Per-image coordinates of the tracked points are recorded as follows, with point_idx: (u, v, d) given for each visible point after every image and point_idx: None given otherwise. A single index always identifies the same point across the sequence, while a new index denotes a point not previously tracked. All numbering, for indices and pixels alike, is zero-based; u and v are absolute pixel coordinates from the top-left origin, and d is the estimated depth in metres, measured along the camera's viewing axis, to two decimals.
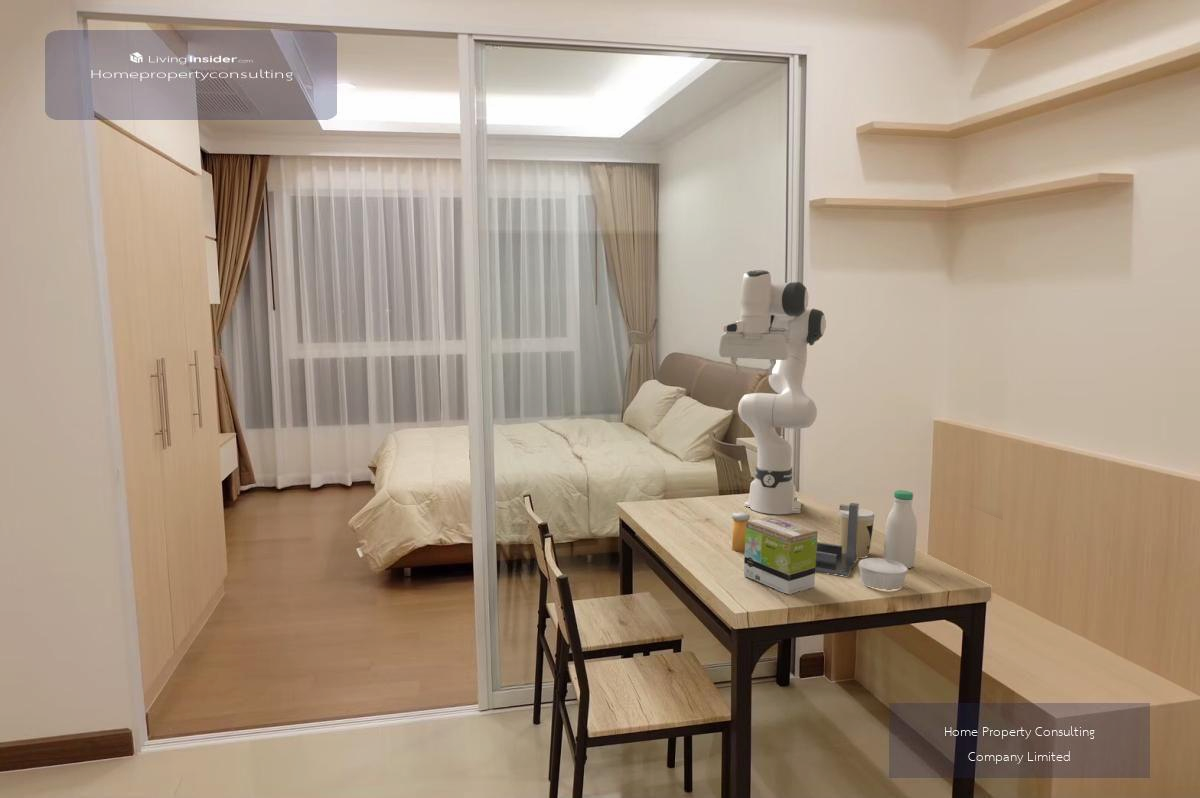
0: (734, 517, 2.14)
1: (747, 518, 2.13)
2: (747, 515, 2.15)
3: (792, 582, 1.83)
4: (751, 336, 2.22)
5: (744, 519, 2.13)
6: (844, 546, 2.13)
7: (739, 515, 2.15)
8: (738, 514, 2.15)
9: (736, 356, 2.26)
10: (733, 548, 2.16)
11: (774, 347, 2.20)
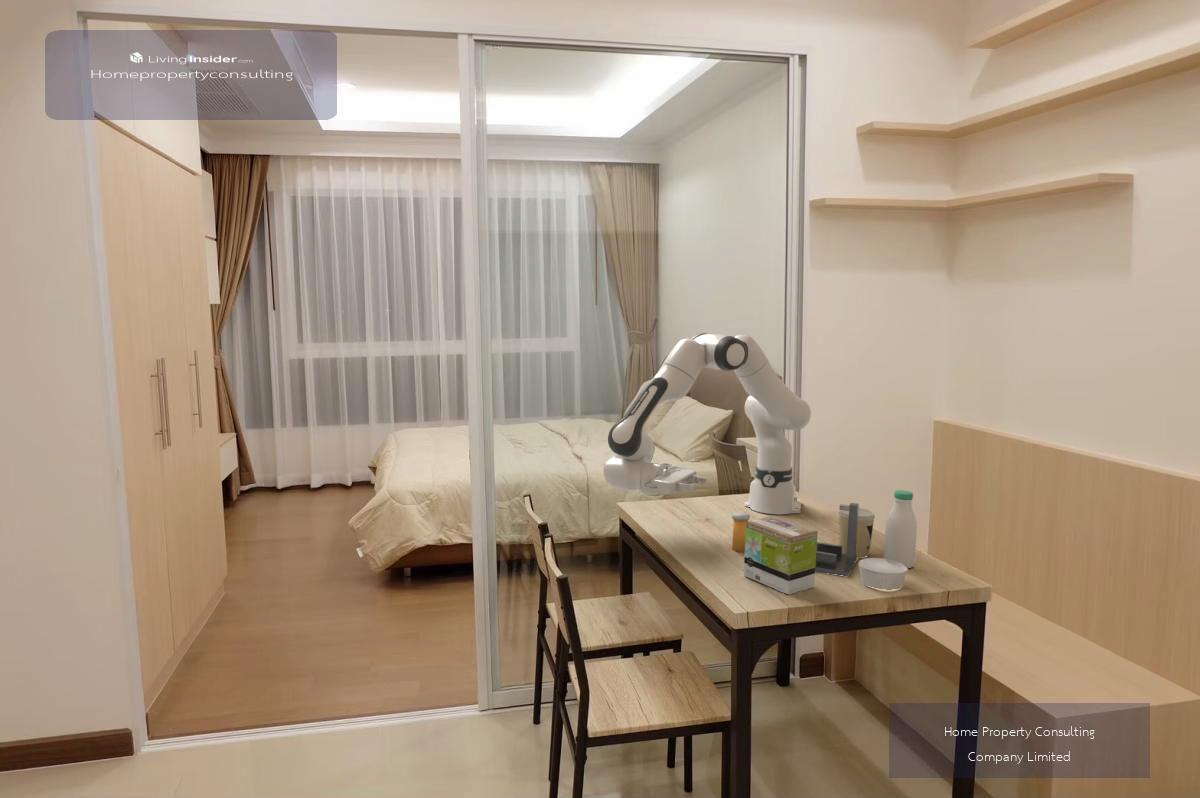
0: (734, 517, 2.14)
1: (747, 518, 2.13)
2: (747, 515, 2.15)
3: (792, 582, 1.83)
4: None
5: (744, 519, 2.13)
6: (844, 546, 2.13)
7: (739, 515, 2.15)
8: (738, 514, 2.15)
9: None
10: (733, 548, 2.16)
11: None
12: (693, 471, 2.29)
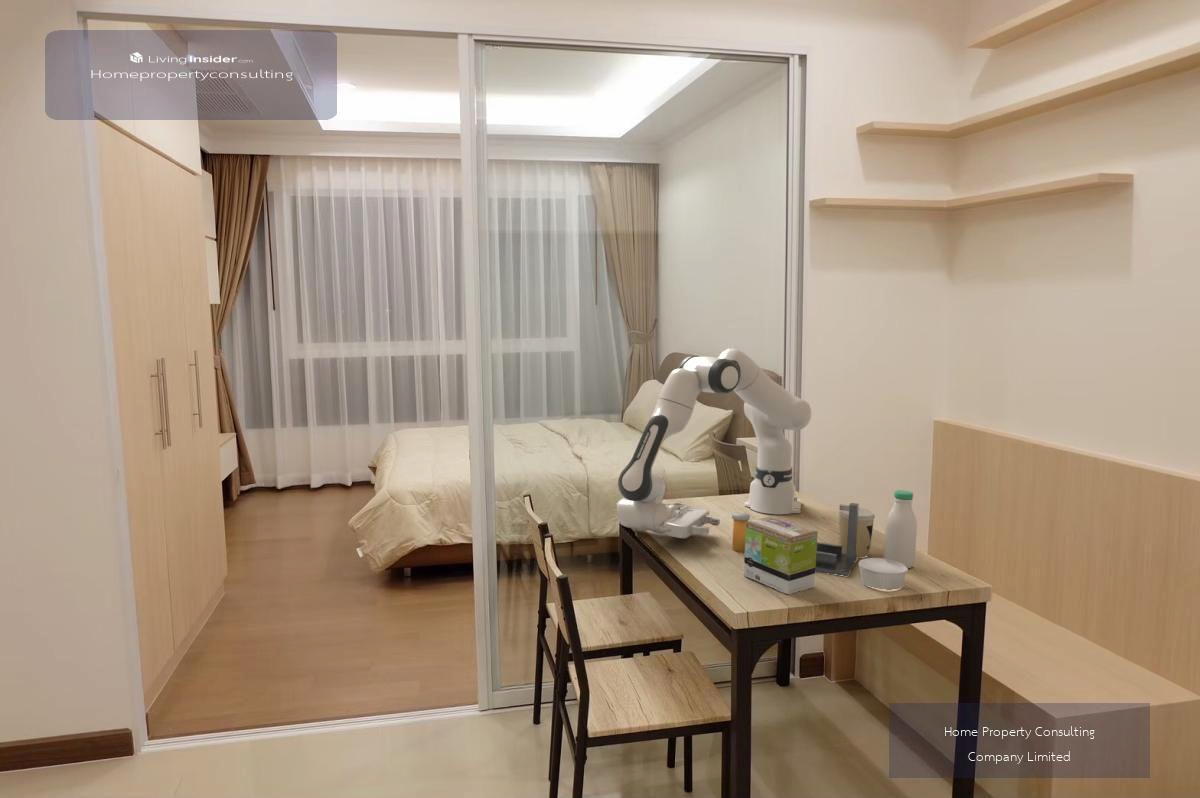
0: (734, 517, 2.14)
1: (747, 518, 2.13)
2: (747, 515, 2.15)
3: (792, 582, 1.83)
4: None
5: (744, 519, 2.13)
6: (844, 546, 2.13)
7: (739, 515, 2.15)
8: (738, 514, 2.15)
9: None
10: (733, 548, 2.16)
11: None
12: (706, 511, 2.28)
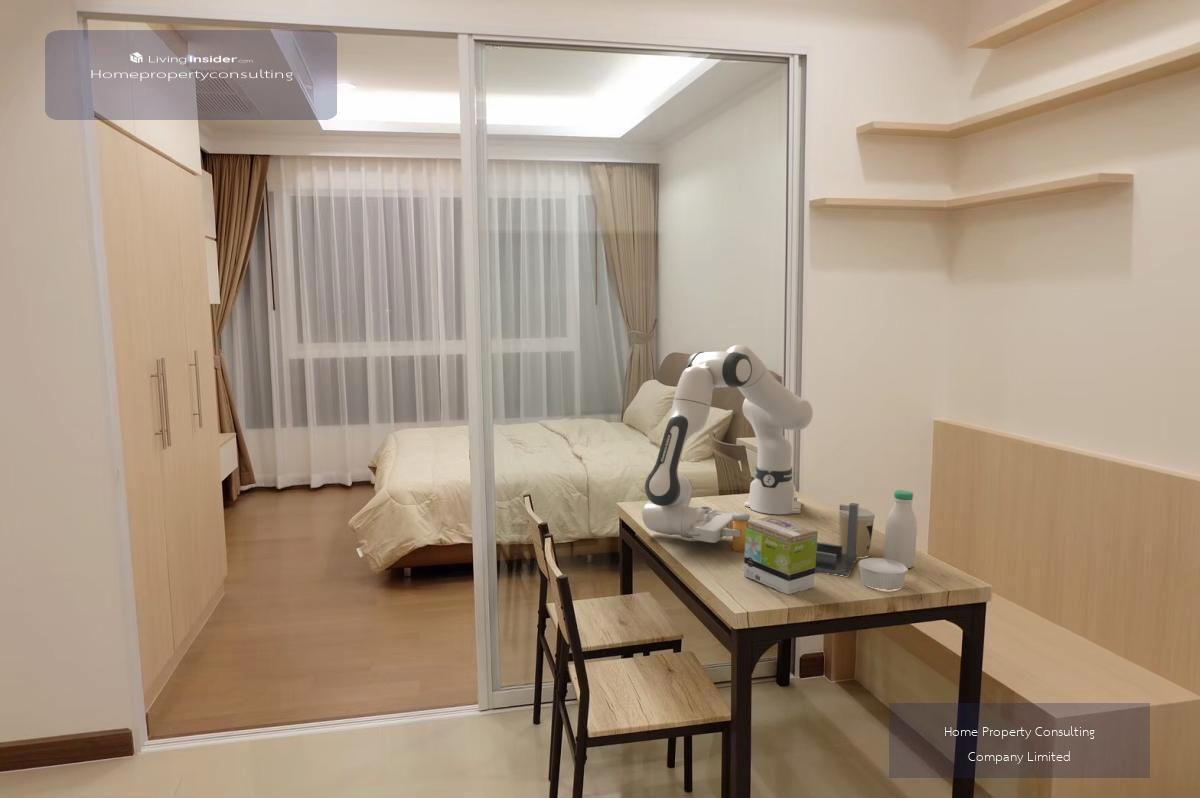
0: (734, 517, 2.14)
1: (747, 518, 2.13)
2: (747, 515, 2.15)
3: (792, 582, 1.83)
4: None
5: (744, 519, 2.13)
6: (844, 546, 2.13)
7: (739, 515, 2.14)
8: (738, 514, 2.15)
9: None
10: (733, 548, 2.16)
11: None
12: None
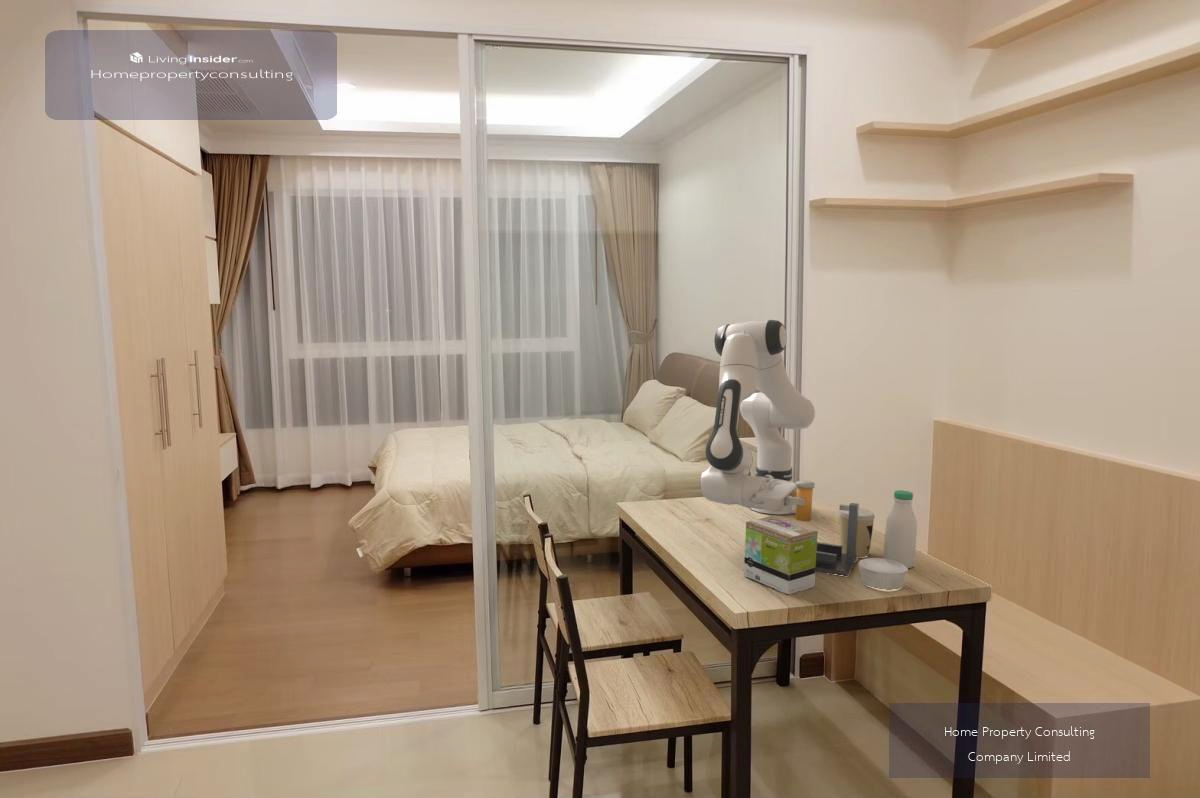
0: (798, 485, 2.04)
1: (812, 486, 2.04)
2: (812, 483, 2.05)
3: (792, 582, 1.83)
4: None
5: (809, 487, 2.03)
6: (844, 546, 2.13)
7: (804, 483, 2.05)
8: (802, 482, 2.06)
9: None
10: (797, 518, 2.06)
11: None
12: None
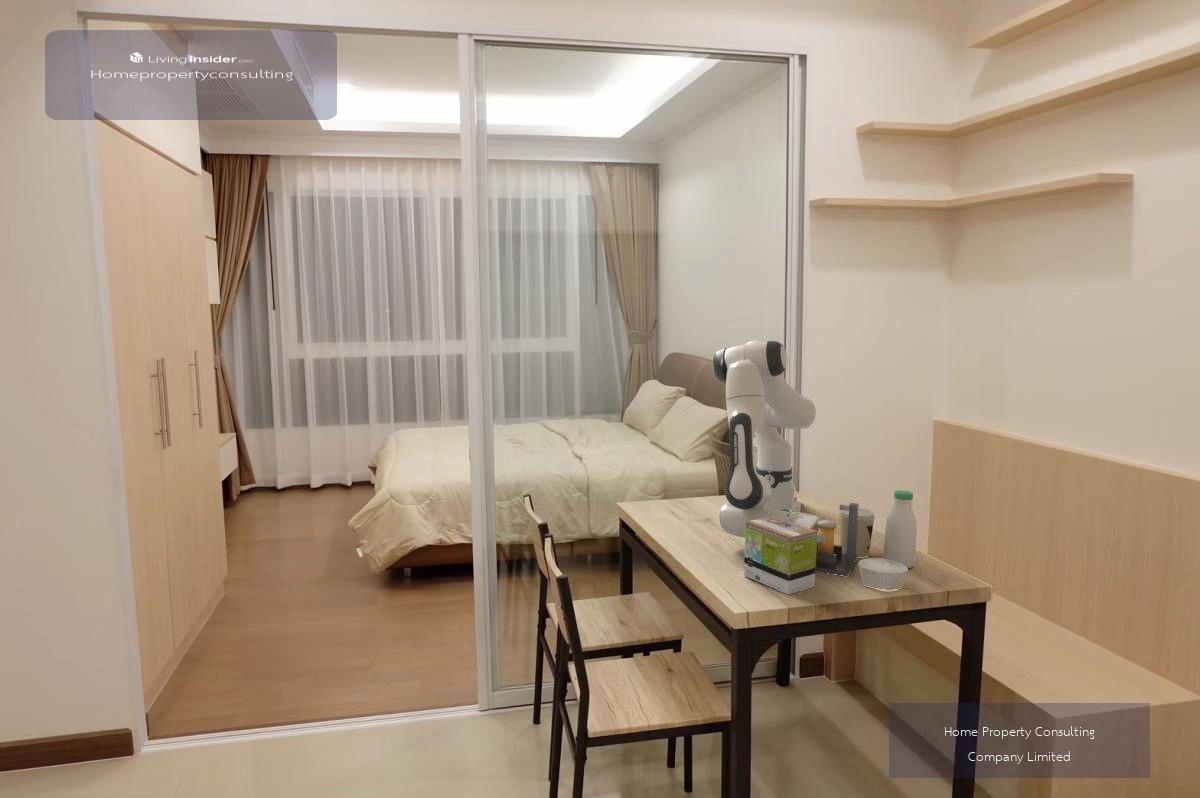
0: (820, 525, 2.03)
1: (834, 526, 2.03)
2: (834, 523, 2.04)
3: (792, 582, 1.83)
4: None
5: (831, 527, 2.02)
6: (844, 546, 2.13)
7: (826, 523, 2.04)
8: (824, 522, 2.05)
9: None
10: None
11: None
12: (817, 518, 2.13)
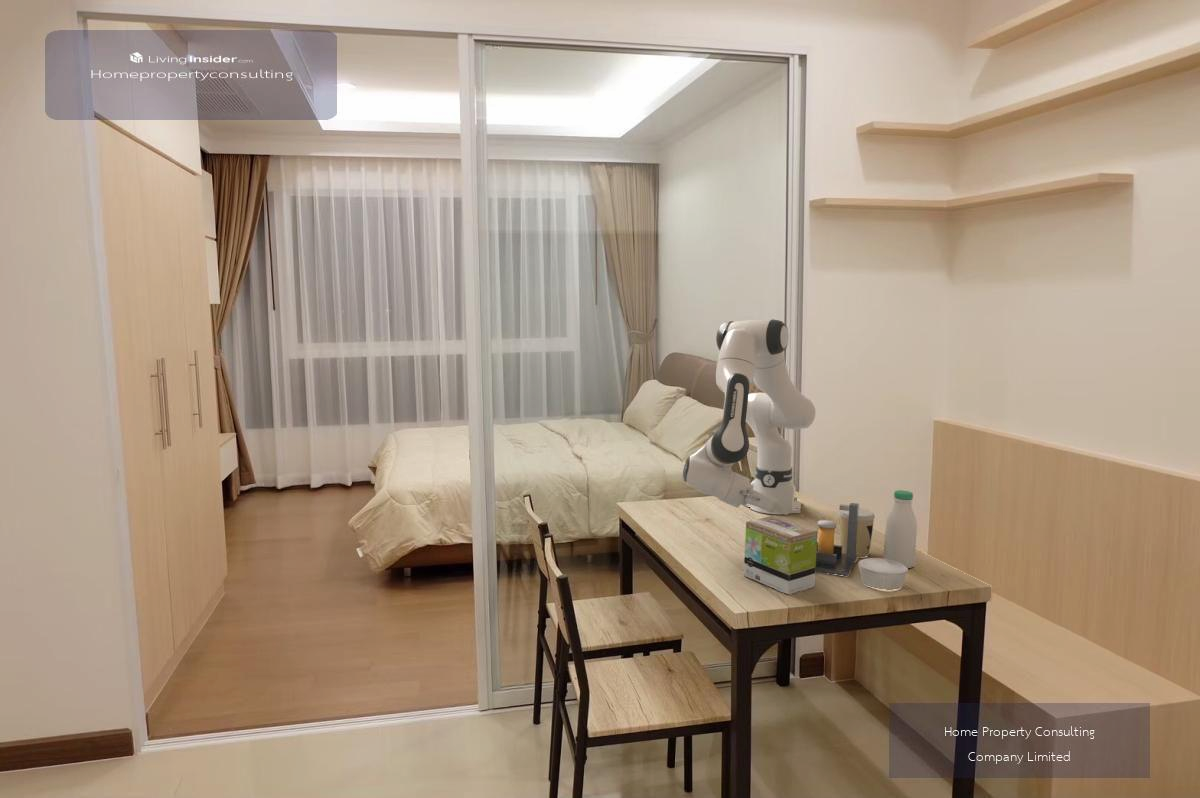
0: (820, 525, 2.03)
1: (834, 526, 2.03)
2: (834, 523, 2.04)
3: (792, 582, 1.83)
4: (742, 504, 2.14)
5: (831, 527, 2.02)
6: (844, 546, 2.13)
7: (826, 523, 2.04)
8: (824, 522, 2.05)
9: None
10: None
11: None
12: None
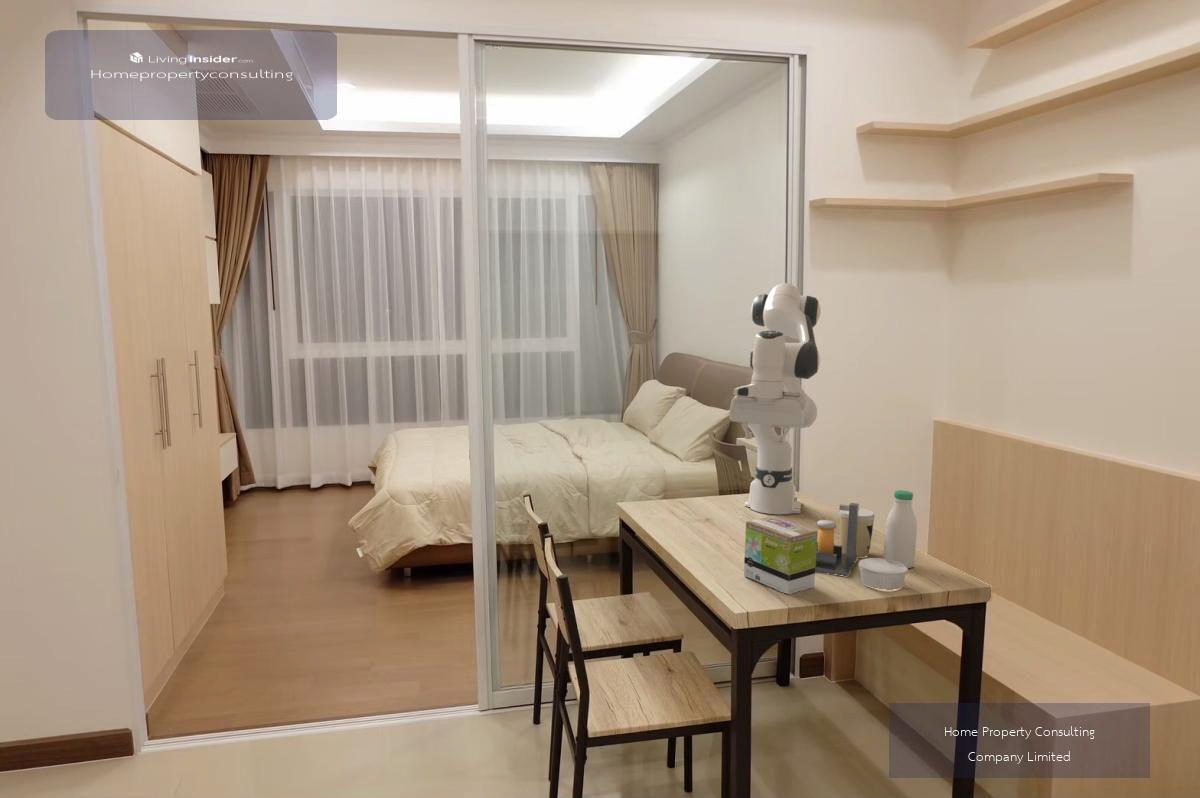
0: (820, 525, 2.03)
1: (834, 526, 2.03)
2: (833, 523, 2.04)
3: (792, 582, 1.83)
4: (764, 401, 2.09)
5: (831, 527, 2.02)
6: (844, 546, 2.13)
7: (825, 523, 2.04)
8: (824, 522, 2.05)
9: (747, 421, 2.13)
10: None
11: (788, 413, 2.07)
12: None
